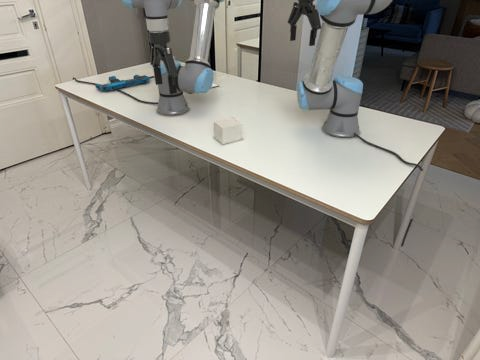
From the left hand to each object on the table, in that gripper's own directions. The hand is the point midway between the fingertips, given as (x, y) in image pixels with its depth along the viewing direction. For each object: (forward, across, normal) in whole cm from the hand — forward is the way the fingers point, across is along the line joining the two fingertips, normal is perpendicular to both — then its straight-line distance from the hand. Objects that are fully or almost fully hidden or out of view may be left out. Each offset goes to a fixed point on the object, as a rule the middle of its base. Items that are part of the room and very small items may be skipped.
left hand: (166, 88), depth 134 cm
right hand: (-10, -4, -68) cm, 68 cm away
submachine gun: (+22, +84, -8) cm, 87 cm away
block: (+21, -16, -19) cm, 32 cm away
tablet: (+22, +62, -40) cm, 77 cm away
